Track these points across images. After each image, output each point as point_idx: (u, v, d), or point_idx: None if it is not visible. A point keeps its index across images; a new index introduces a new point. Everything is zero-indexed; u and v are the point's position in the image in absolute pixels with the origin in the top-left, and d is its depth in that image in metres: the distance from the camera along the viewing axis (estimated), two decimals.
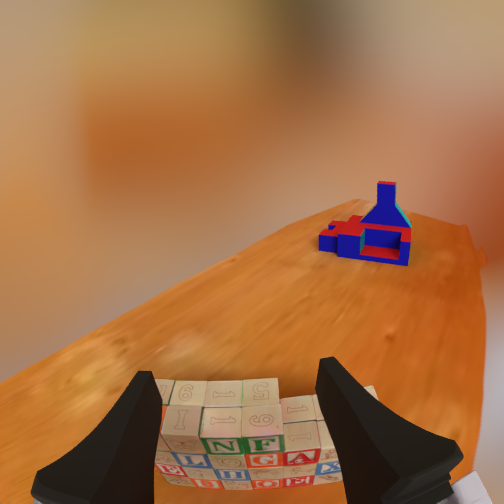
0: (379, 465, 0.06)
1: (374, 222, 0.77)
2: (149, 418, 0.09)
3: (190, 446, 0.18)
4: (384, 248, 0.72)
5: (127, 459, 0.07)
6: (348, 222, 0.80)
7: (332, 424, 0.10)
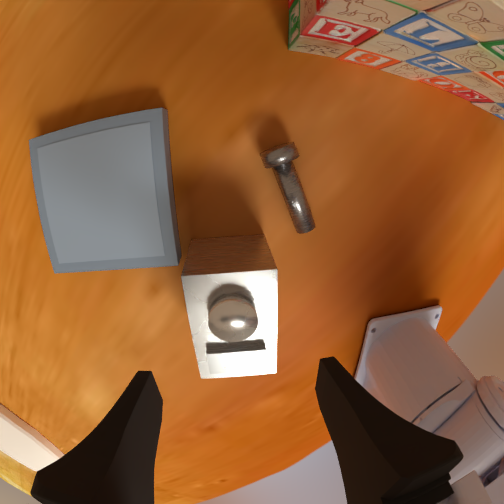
0: (379, 465, 0.06)
1: None
2: (149, 418, 0.09)
3: (485, 27, 0.05)
4: None
5: (127, 459, 0.07)
6: None
7: (332, 424, 0.10)
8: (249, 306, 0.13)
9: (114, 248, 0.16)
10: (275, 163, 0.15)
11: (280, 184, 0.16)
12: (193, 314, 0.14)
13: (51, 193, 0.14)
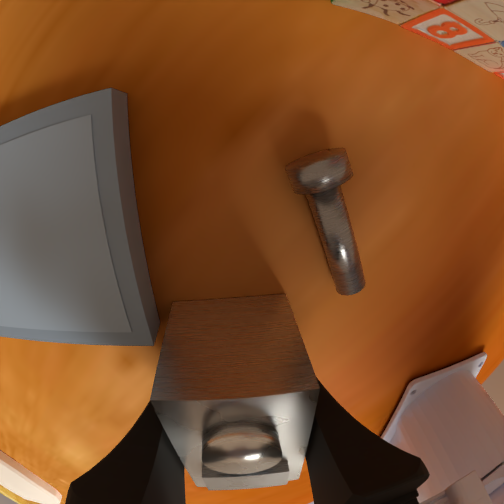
0: (336, 478, 0.06)
1: None
2: None
3: None
4: None
5: (164, 463, 0.07)
6: None
7: None
8: (269, 444, 0.07)
9: (59, 316, 0.09)
10: (315, 187, 0.08)
11: (318, 220, 0.09)
12: (178, 440, 0.07)
13: None
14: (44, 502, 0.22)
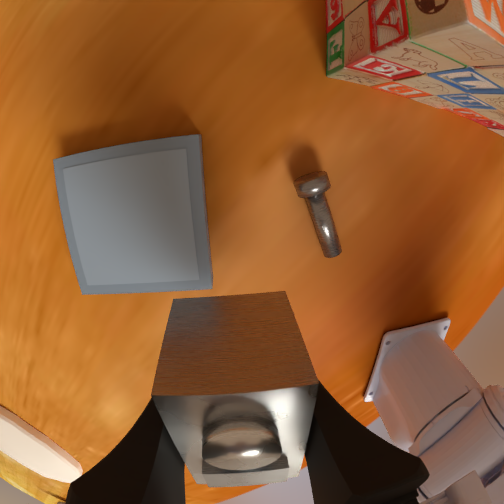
0: (336, 478, 0.06)
1: None
2: None
3: None
4: None
5: (164, 463, 0.07)
6: None
7: None
8: (269, 439, 0.07)
9: (147, 272, 0.17)
10: (309, 194, 0.15)
11: (311, 212, 0.17)
12: (178, 435, 0.08)
13: (79, 216, 0.15)
14: (64, 478, 0.29)
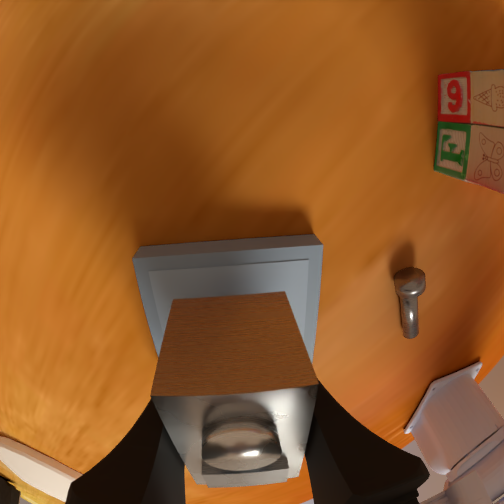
0: (336, 478, 0.06)
1: None
2: None
3: None
4: None
5: (164, 463, 0.07)
6: None
7: None
8: (269, 439, 0.07)
9: None
10: (411, 296, 0.15)
11: (403, 304, 0.16)
12: (178, 436, 0.08)
13: None
14: None
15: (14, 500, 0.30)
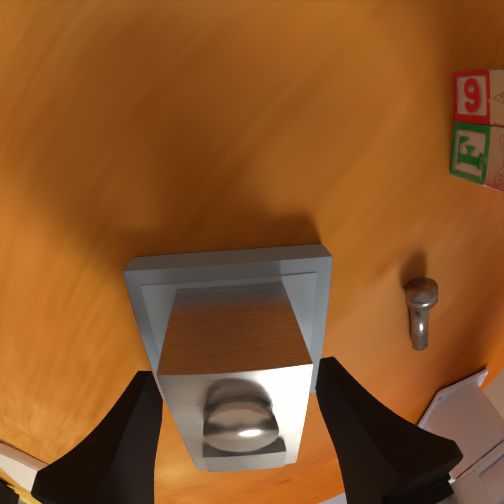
0: (379, 465, 0.06)
1: None
2: (149, 418, 0.09)
3: None
4: None
5: (127, 459, 0.07)
6: None
7: (332, 424, 0.10)
8: (267, 418, 0.08)
9: None
10: (422, 308, 0.14)
11: (414, 316, 0.15)
12: (181, 417, 0.08)
13: None
14: None
15: None
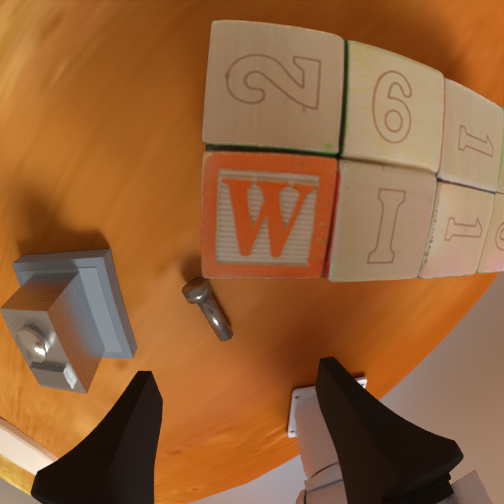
0: (379, 465, 0.06)
1: None
2: (149, 418, 0.09)
3: None
4: None
5: (127, 459, 0.07)
6: None
7: (332, 424, 0.10)
8: (33, 337, 0.13)
9: None
10: (191, 301, 0.19)
11: (201, 309, 0.20)
12: (15, 336, 0.13)
13: None
14: None
15: None
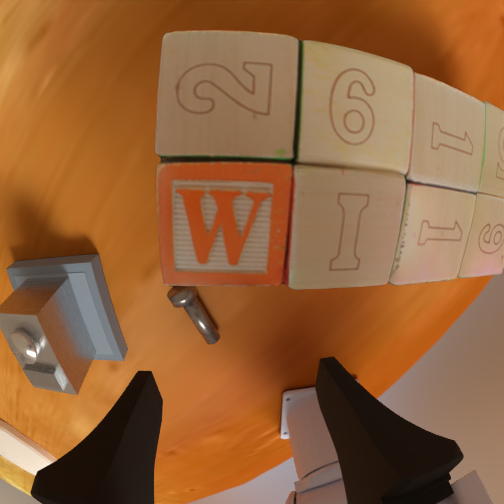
0: (379, 465, 0.06)
1: None
2: (149, 418, 0.09)
3: None
4: None
5: (127, 459, 0.07)
6: None
7: (332, 423, 0.10)
8: (24, 340, 0.13)
9: None
10: (176, 305, 0.19)
11: (187, 312, 0.20)
12: (8, 339, 0.14)
13: None
14: None
15: None
